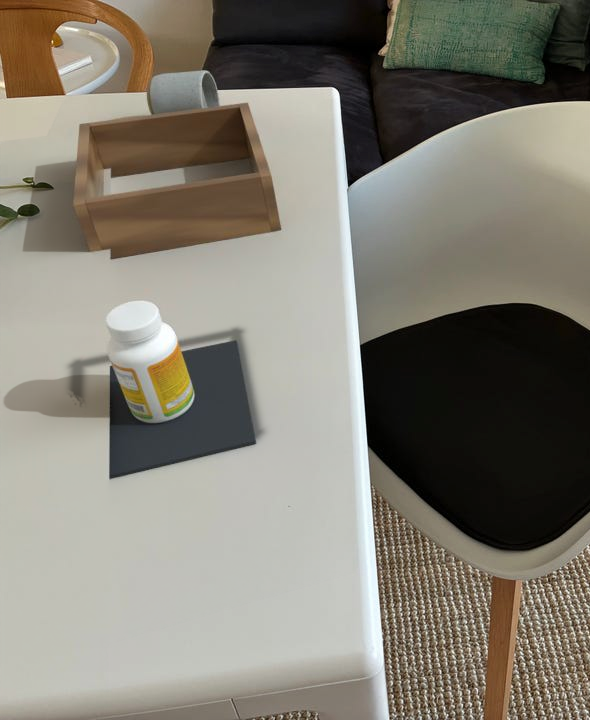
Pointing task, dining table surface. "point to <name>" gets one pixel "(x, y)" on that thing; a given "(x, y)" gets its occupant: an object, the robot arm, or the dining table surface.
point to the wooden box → (176, 202)
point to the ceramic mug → (182, 92)
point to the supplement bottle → (148, 362)
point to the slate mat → (185, 416)
